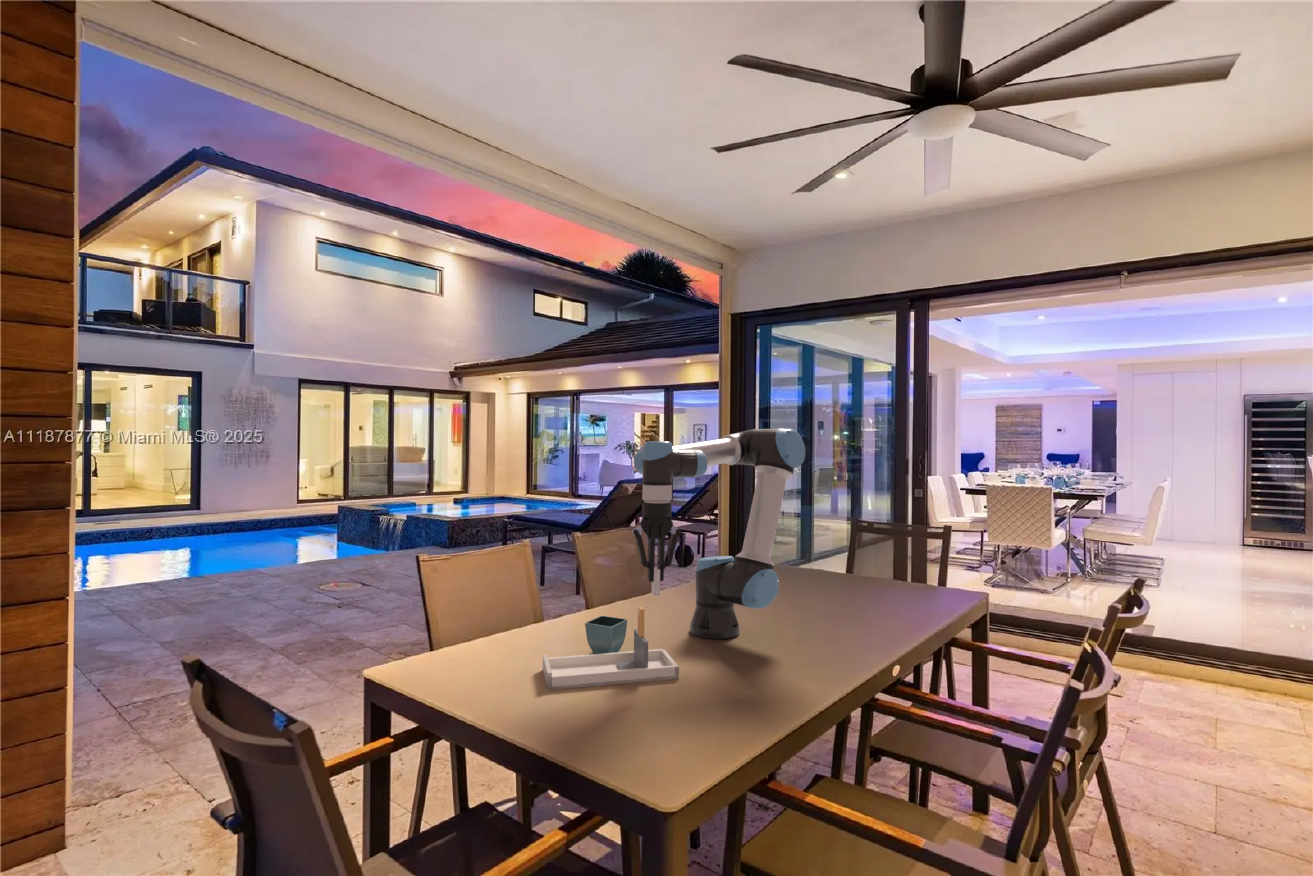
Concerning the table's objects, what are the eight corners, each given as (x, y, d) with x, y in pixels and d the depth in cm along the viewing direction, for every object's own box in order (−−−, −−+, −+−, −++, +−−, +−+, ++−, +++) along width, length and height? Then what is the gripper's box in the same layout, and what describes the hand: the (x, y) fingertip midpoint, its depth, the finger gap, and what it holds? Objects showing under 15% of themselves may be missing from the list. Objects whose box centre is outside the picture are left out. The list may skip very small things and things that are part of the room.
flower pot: (583, 655, 176) (584, 622, 176) (601, 646, 183) (601, 615, 183) (611, 660, 172) (611, 627, 172) (627, 651, 179) (628, 619, 179)
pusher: (637, 659, 169) (638, 602, 169) (647, 674, 158) (648, 613, 158) (615, 661, 168) (615, 603, 168) (623, 676, 157) (624, 615, 157)
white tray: (663, 660, 172) (663, 645, 172) (678, 678, 159) (678, 662, 159) (542, 670, 164) (542, 654, 164) (547, 690, 151) (547, 673, 151)
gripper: (677, 500, 170) (675, 590, 170) (628, 500, 167) (627, 592, 166) (685, 502, 163) (684, 596, 163) (635, 503, 160) (633, 598, 159)
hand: (655, 594), depth 164 cm, fingers closed
